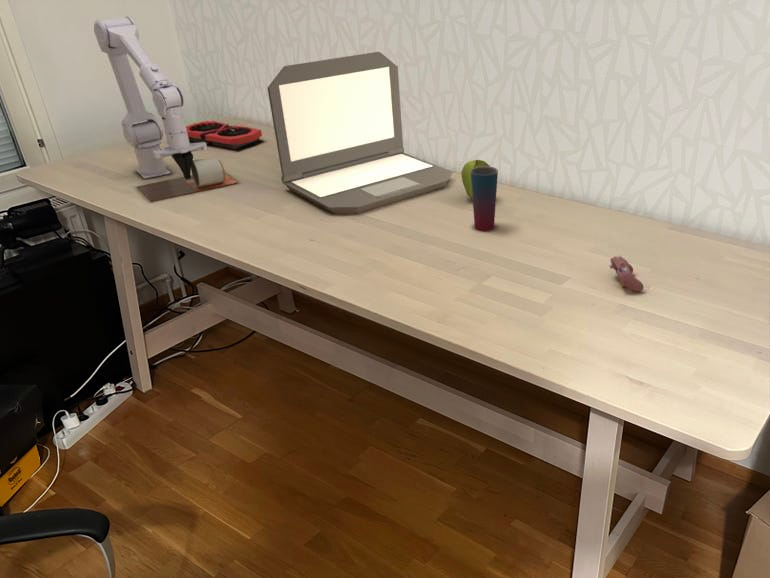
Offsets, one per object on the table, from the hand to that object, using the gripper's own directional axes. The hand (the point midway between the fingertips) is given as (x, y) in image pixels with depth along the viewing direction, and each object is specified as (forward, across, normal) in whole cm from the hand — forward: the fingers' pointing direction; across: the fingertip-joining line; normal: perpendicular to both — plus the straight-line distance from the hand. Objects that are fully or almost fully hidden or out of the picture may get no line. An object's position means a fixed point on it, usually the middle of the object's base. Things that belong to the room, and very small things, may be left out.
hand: (187, 178), depth 204 cm
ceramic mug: (+3, +6, 0) cm, 6 cm away
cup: (+3, +52, -77) cm, 93 cm away
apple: (+3, +62, -60) cm, 86 cm away
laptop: (+3, +44, -33) cm, 55 cm away
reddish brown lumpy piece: (+3, +58, -121) cm, 134 cm away
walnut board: (+3, 0, +2) cm, 4 cm away
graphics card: (+3, +22, +42) cm, 48 cm away
